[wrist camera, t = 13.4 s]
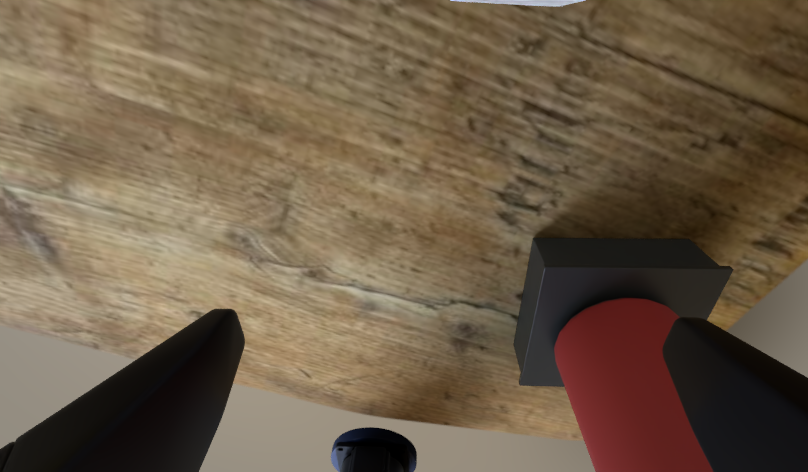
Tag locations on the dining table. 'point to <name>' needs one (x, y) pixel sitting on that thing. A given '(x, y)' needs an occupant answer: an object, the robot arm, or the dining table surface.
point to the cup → (526, 2)
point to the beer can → (626, 388)
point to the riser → (605, 288)
